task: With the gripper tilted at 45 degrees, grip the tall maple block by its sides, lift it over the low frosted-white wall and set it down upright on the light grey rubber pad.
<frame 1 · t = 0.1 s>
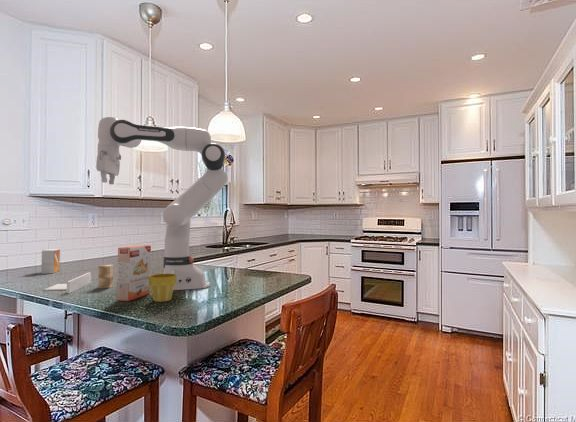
hand: (108, 183, 159), 48 cm above the countertop, tool pointing down, fingers open, 8 cm apart
maple block: (105, 287, 161), on the countertop
low wall: (79, 287, 159), on the countertop
cracker box: (134, 297, 142), on the countertop
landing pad: (63, 287, 159), on the countertop
small box: (50, 272, 199), on the countertop
plant pot: (162, 300, 138), on the countertop
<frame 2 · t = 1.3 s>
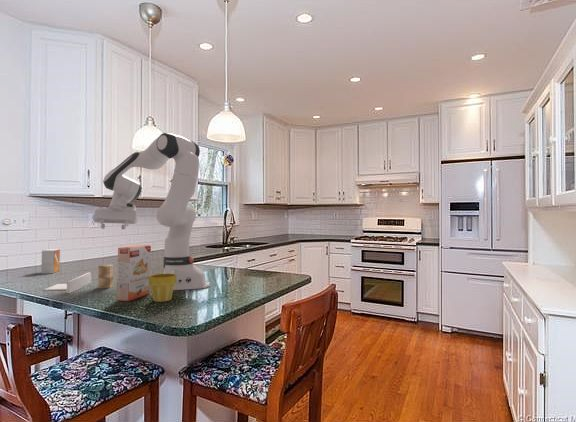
hand: (112, 228, 172), 27 cm above the countertop, tool tilted 45°, fingers open, 8 cm apart
nothing on the countertop moved.
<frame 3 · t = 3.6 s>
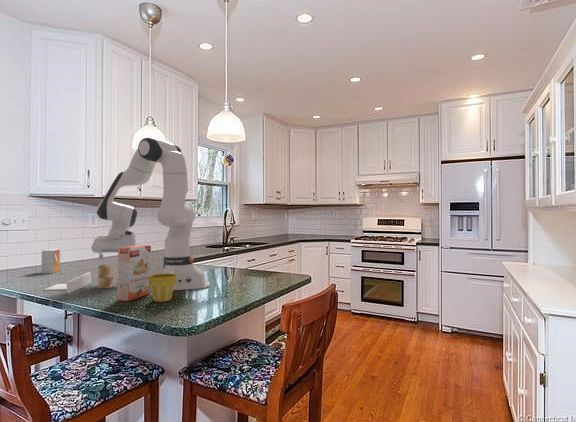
hand: (111, 258, 168), 13 cm above the countertop, tool tilted 45°, fingers open, 8 cm apart
nothing on the countertop moved.
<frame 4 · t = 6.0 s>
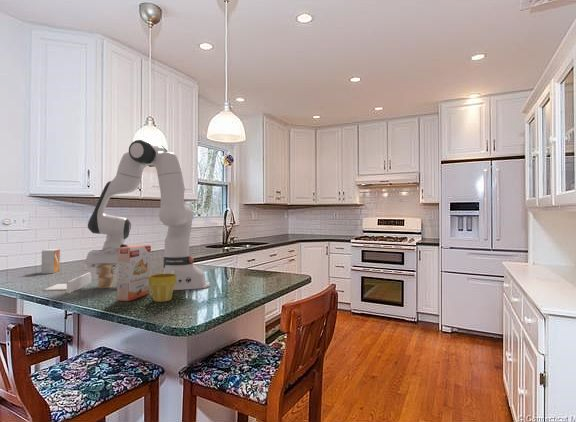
hand: (105, 273, 161), 6 cm above the countertop, tool tilted 45°, fingers closed on maple block, 5 cm apart
maple block: (105, 287, 161), on the countertop, touching gripper
everything else where it was.
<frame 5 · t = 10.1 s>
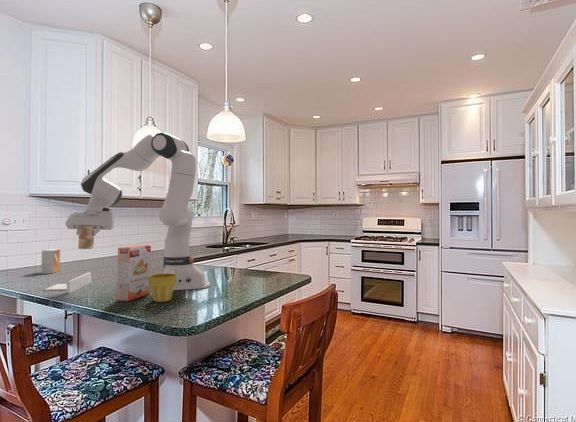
hand: (85, 234, 160), 24 cm above the countertop, tool tilted 45°, fingers closed on maple block, 5 cm apart
maple block: (86, 248, 160), point 18 cm above the countertop, touching gripper
everything else where it was.
when the fingers open (8 cm above the countertop, at t = 14.2 s): maple block drops 1 cm, resting on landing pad.
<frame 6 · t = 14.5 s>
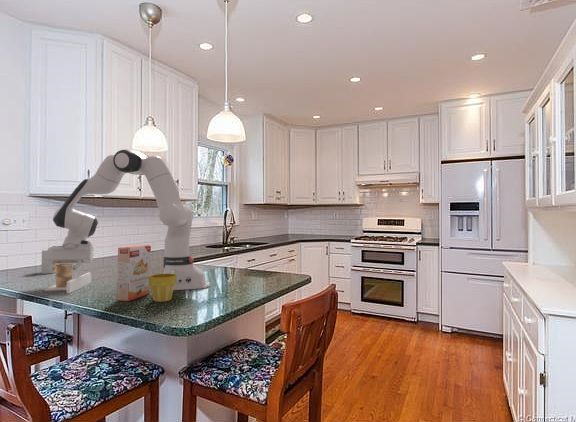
hand: (63, 269, 158), 8 cm above the countertop, tool tilted 45°, fingers open, 8 cm apart
maple block: (64, 286, 159), point 1 cm above the countertop, touching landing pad
everything else where it was.
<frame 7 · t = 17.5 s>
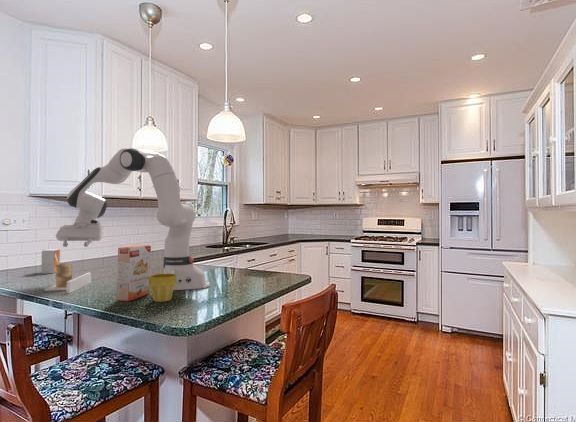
hand: (75, 245, 171), 18 cm above the countertop, tool tilted 45°, fingers open, 8 cm apart
nothing on the countertop moved.
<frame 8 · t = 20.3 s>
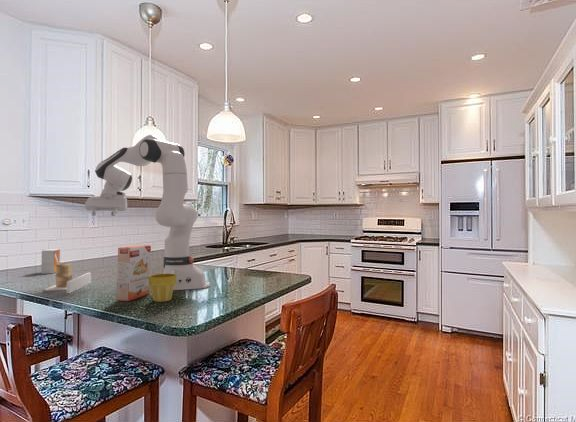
hand: (103, 214, 180), 33 cm above the countertop, tool tilted 45°, fingers open, 8 cm apart
nothing on the countertop moved.
at the end: maple block inside the target area on the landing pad (0.1 cm from its centre), point 0.6 cm above the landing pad's base; maple block tilted 0°; the gripper is holding nothing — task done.
